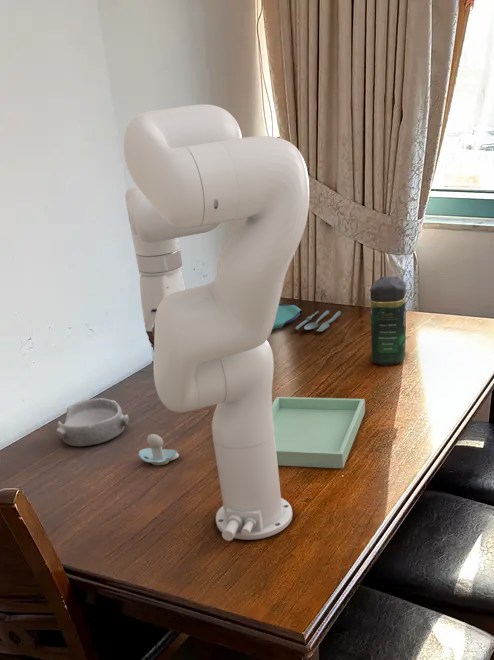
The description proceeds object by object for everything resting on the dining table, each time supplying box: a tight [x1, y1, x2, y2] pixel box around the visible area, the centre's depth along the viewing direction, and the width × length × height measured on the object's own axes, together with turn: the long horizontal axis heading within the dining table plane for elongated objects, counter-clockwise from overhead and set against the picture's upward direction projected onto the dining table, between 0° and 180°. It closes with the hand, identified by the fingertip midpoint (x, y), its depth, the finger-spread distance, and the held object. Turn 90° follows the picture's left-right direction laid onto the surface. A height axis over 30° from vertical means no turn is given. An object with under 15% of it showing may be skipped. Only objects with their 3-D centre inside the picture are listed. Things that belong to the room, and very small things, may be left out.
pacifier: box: [138, 433, 180, 466], centre depth 146 cm, size 7×6×6 cm
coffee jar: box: [369, 276, 407, 366], centre depth 177 cm, size 10×8×19 cm
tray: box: [272, 396, 366, 469], centre depth 150 cm, size 24×19×3 cm
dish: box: [55, 397, 130, 447], centre depth 160 cm, size 14×14×5 cm
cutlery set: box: [272, 303, 342, 333], centre depth 210 cm, size 20×30×2 cm, turn 64°
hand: (175, 356), depth 141 cm, fingers open, 9 cm apart
